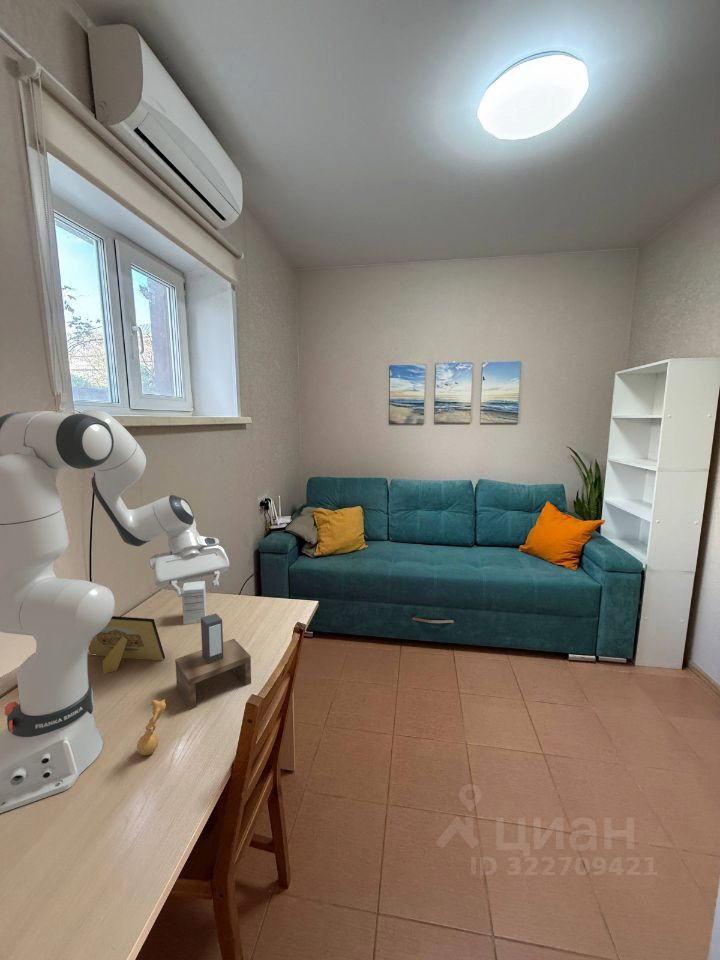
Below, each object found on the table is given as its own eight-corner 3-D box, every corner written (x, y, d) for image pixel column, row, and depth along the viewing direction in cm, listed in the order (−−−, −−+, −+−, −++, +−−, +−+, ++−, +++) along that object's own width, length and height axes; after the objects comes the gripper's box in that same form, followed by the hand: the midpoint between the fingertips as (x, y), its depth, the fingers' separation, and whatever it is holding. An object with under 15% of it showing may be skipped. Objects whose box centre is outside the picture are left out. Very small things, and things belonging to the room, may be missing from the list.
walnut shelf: (189, 709, 96) (188, 679, 95) (176, 686, 105) (175, 659, 104) (251, 683, 107) (250, 655, 106) (234, 664, 115) (234, 638, 114)
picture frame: (165, 657, 117) (159, 613, 114) (146, 679, 109) (139, 632, 105) (93, 652, 120) (85, 608, 116) (69, 673, 111) (60, 626, 107)
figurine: (146, 737, 88) (143, 688, 86) (174, 735, 88) (171, 686, 87) (129, 769, 79) (125, 716, 78) (161, 767, 80) (157, 713, 79)
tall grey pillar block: (208, 664, 101) (206, 624, 100) (202, 656, 105) (200, 617, 103) (223, 658, 104) (222, 619, 102) (217, 651, 107) (215, 613, 106)
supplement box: (185, 615, 144) (183, 582, 142) (207, 612, 146) (205, 580, 144) (182, 625, 137) (181, 590, 135) (205, 622, 139) (204, 588, 137)
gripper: (149, 550, 107) (160, 596, 101) (223, 537, 120) (237, 577, 114) (146, 561, 111) (157, 606, 105) (218, 547, 124) (231, 587, 118)
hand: (199, 591), depth 110 cm, fingers open, 8 cm apart
